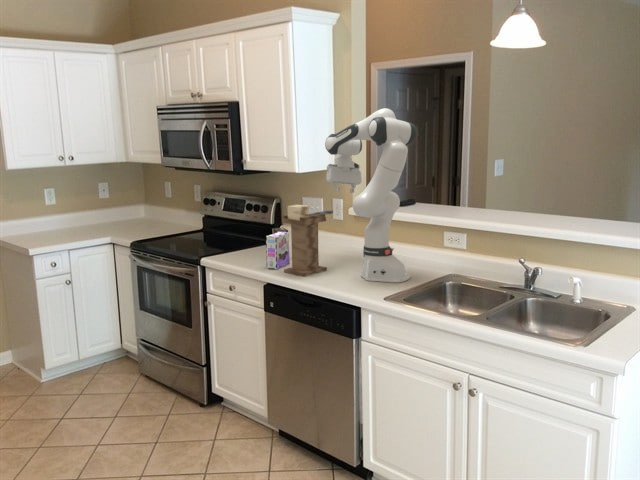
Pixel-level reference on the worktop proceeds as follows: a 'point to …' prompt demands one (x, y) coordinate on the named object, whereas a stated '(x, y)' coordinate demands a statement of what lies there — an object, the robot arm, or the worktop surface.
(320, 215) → the walnut stand
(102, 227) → the worktop surface
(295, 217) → the beech block
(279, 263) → the candy box
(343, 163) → the robot arm
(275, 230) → the coffee box
